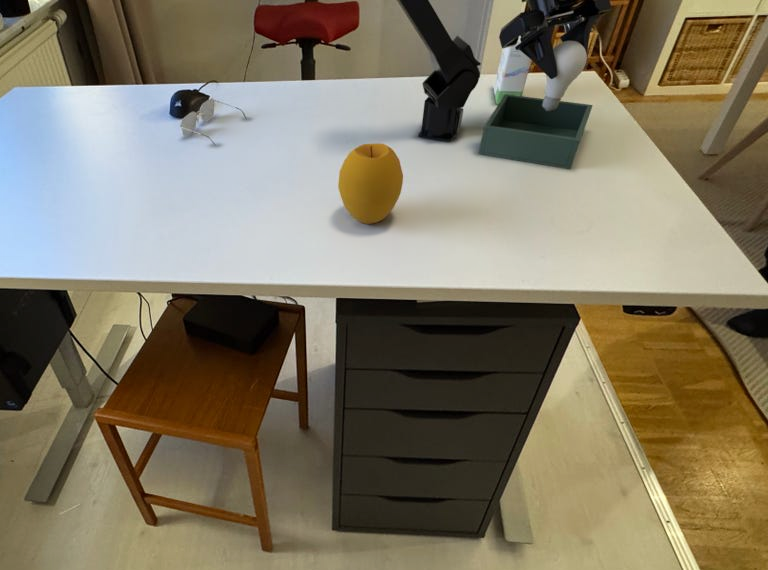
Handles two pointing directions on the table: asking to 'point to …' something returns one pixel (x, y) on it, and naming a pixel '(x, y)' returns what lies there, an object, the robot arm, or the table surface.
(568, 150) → the bin
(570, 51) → the lightbulb
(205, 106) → the eyeglasses
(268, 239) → the table surface
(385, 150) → the apple
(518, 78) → the ink box
